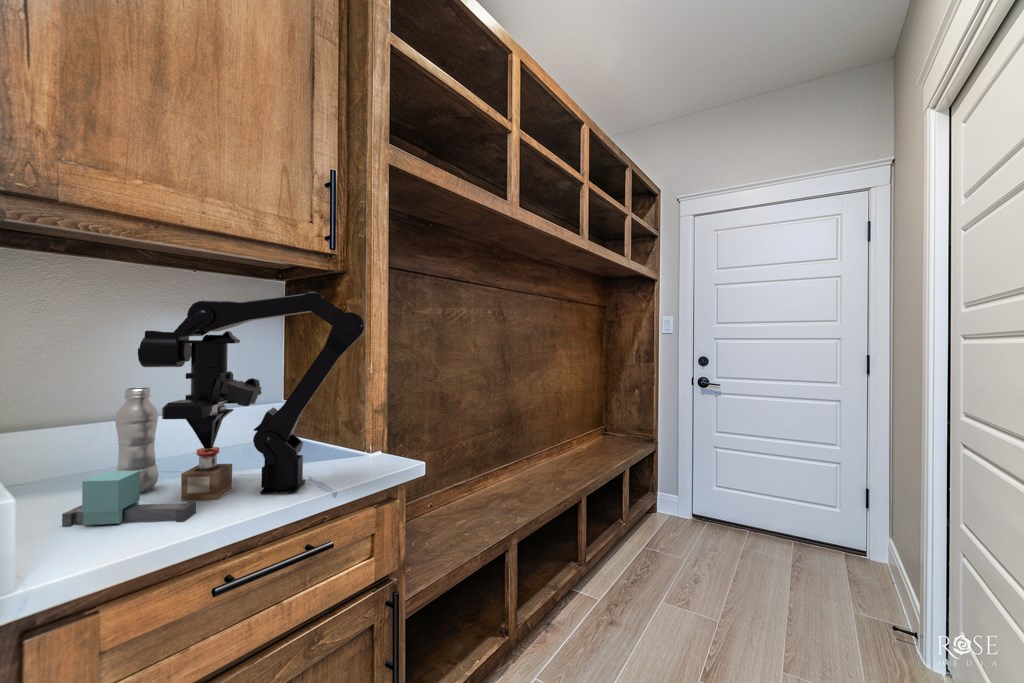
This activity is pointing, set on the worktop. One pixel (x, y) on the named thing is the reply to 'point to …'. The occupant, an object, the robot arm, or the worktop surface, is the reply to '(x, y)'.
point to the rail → (141, 513)
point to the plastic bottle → (137, 436)
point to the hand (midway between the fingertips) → (208, 448)
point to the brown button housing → (206, 483)
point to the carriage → (109, 496)
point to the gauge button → (208, 458)
